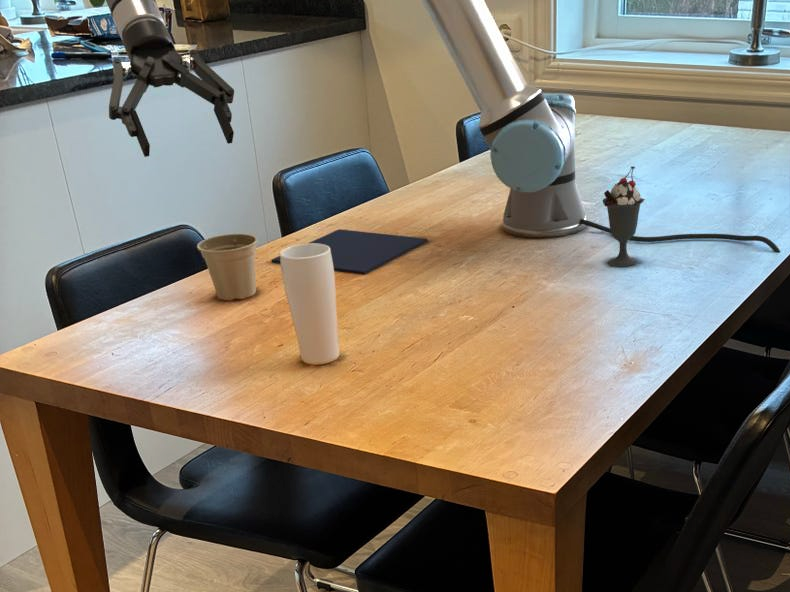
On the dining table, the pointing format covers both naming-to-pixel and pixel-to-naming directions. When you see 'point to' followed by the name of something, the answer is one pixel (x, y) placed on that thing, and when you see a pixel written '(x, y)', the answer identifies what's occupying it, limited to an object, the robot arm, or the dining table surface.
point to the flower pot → (231, 264)
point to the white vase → (312, 300)
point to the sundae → (623, 217)
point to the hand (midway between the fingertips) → (189, 144)
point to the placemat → (364, 249)
